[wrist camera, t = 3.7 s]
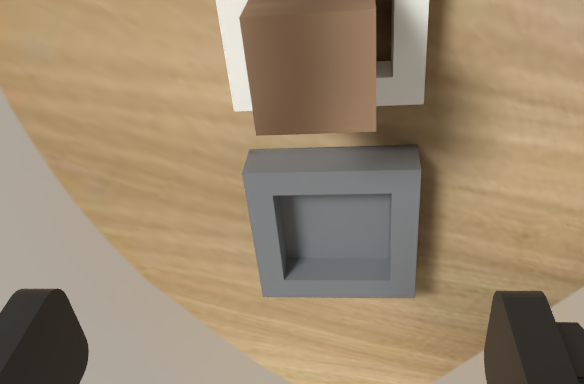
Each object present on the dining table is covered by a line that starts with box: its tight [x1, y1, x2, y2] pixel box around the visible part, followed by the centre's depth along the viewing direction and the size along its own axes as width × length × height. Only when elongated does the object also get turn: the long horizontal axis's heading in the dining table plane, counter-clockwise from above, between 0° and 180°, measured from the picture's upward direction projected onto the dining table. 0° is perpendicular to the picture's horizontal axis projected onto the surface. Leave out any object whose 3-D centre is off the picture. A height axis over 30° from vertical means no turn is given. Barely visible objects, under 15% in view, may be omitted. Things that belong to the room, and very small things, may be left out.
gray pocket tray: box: [242, 145, 421, 298], centre depth 33 cm, size 10×10×2 cm
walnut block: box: [239, 0, 376, 135], centre depth 23 cm, size 4×4×9 cm
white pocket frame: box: [216, 0, 429, 111], centre depth 26 cm, size 10×10×2 cm
